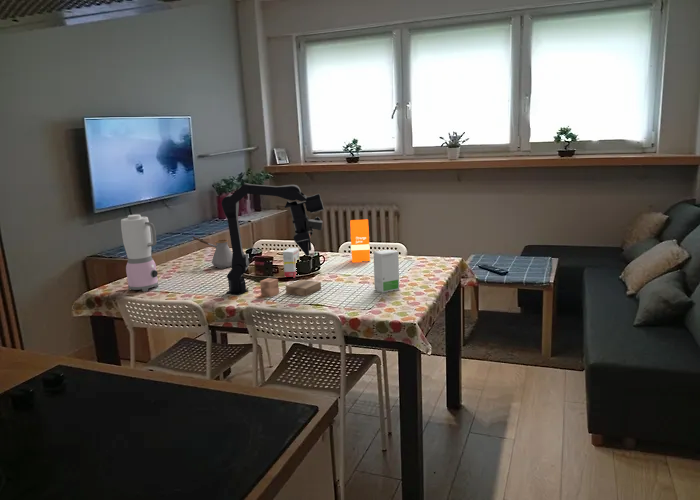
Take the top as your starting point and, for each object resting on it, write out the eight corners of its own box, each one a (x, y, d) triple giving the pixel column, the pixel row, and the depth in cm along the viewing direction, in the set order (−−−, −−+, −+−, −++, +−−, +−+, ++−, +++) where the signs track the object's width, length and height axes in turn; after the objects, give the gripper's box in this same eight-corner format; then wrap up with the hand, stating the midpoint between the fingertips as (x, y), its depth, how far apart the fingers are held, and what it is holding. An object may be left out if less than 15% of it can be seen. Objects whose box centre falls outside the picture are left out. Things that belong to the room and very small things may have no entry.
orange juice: (370, 261, 268) (368, 220, 264) (351, 262, 269) (349, 221, 264) (369, 257, 276) (368, 218, 272) (352, 258, 276) (350, 218, 272)
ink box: (294, 278, 246) (292, 251, 243) (284, 277, 247) (282, 251, 244) (300, 273, 254) (299, 247, 251) (290, 272, 255) (288, 247, 252)
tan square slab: (286, 293, 224) (285, 285, 223) (301, 286, 232) (301, 279, 231) (306, 296, 218) (305, 288, 218) (321, 289, 226) (320, 282, 226)
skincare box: (382, 293, 216) (380, 254, 213) (373, 289, 222) (372, 251, 219) (400, 289, 220) (399, 251, 217) (391, 285, 226) (390, 248, 223)
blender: (122, 291, 238) (111, 217, 231) (141, 283, 249) (131, 213, 243) (153, 293, 233) (143, 217, 226) (170, 285, 244) (161, 213, 237)
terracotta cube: (261, 295, 222) (260, 281, 221) (269, 292, 226) (268, 277, 225) (271, 297, 220) (269, 282, 218) (279, 293, 224) (277, 279, 222)
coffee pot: (239, 263, 278) (237, 234, 275) (230, 269, 267) (227, 238, 264) (200, 263, 283) (197, 234, 280) (189, 269, 272) (186, 239, 269)
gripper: (317, 215, 213) (327, 253, 216) (320, 207, 231) (329, 243, 235) (289, 221, 214) (299, 260, 217) (294, 213, 232) (303, 249, 235)
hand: (308, 253), depth 226 cm, fingers open, 9 cm apart
